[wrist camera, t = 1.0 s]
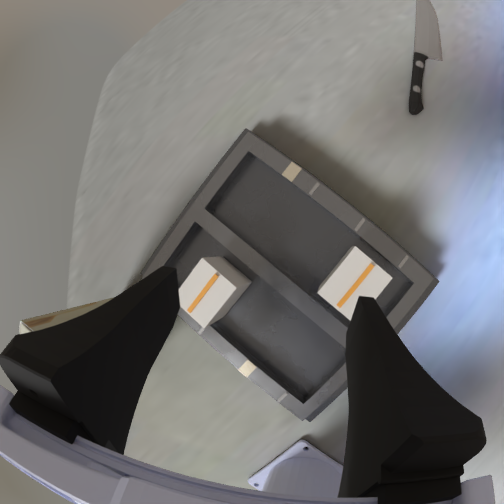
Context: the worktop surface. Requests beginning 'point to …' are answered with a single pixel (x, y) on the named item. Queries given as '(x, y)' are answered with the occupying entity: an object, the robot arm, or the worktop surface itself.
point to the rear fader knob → (212, 290)
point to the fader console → (284, 271)
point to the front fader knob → (353, 281)
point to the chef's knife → (423, 49)
